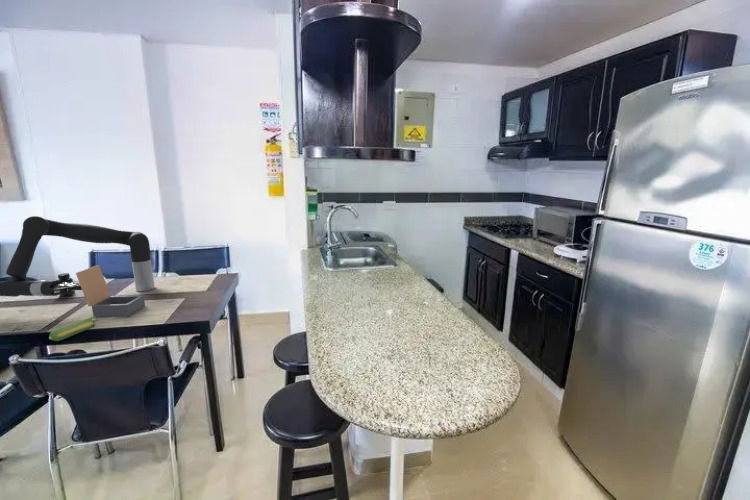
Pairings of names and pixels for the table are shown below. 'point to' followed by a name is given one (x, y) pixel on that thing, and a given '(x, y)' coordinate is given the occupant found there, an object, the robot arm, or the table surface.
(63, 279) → the supplement bottle
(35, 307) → the table surface
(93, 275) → the panel
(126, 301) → the duct box
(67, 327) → the edible corn
